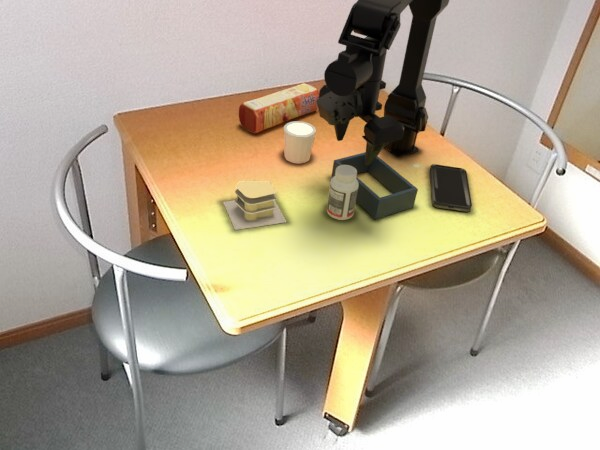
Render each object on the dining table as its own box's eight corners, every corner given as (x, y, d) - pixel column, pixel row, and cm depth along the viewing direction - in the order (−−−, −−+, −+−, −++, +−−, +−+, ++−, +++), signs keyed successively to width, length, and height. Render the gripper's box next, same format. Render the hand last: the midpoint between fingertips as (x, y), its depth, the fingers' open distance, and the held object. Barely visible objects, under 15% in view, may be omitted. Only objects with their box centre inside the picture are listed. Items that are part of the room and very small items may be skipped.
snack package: (301, 102, 156) (304, 77, 152) (320, 112, 152) (323, 87, 148) (236, 126, 143) (237, 99, 139) (255, 137, 140) (256, 111, 136)
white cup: (309, 167, 132) (312, 139, 128) (278, 161, 133) (280, 133, 128) (315, 151, 137) (318, 123, 133) (285, 146, 138) (287, 118, 134)
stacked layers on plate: (272, 195, 122) (273, 172, 119) (286, 222, 116) (288, 198, 113) (222, 202, 119) (223, 178, 116) (235, 230, 113) (235, 205, 109)
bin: (367, 168, 134) (371, 150, 131) (413, 207, 124) (418, 189, 121) (331, 178, 129) (333, 160, 127) (375, 219, 119) (379, 200, 116)
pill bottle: (347, 202, 123) (354, 161, 117) (358, 218, 119) (365, 176, 113) (322, 206, 121) (327, 164, 115) (332, 222, 117) (338, 179, 111)
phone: (466, 168, 135) (472, 208, 123) (464, 173, 136) (470, 212, 124) (430, 163, 135) (432, 202, 123) (428, 167, 136) (431, 206, 124)
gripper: (297, 60, 109) (291, 137, 118) (359, 107, 97) (346, 188, 106) (349, 51, 114) (339, 125, 123) (413, 94, 102) (396, 173, 111)
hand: (353, 151), depth 116 cm, fingers open, 9 cm apart
